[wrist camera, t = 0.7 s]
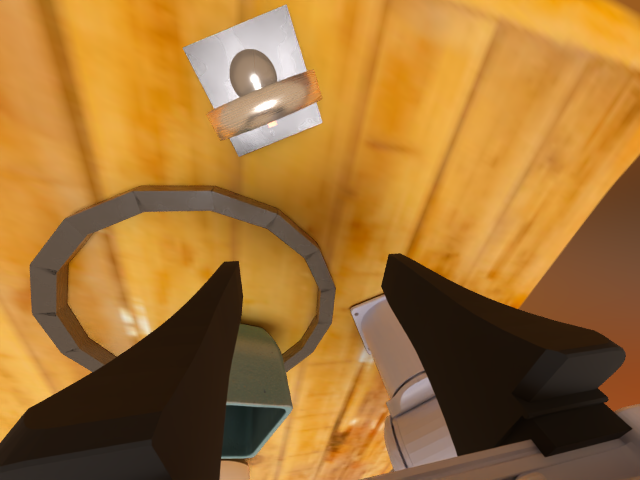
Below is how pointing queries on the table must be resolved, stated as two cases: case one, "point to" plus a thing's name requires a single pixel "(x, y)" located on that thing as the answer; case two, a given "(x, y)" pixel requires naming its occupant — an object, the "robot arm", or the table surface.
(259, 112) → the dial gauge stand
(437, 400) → the robot arm
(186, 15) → the table surface
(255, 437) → the flower pot
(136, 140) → the table surface
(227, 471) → the spread jar
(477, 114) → the table surface
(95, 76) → the table surface
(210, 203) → the centring ring
